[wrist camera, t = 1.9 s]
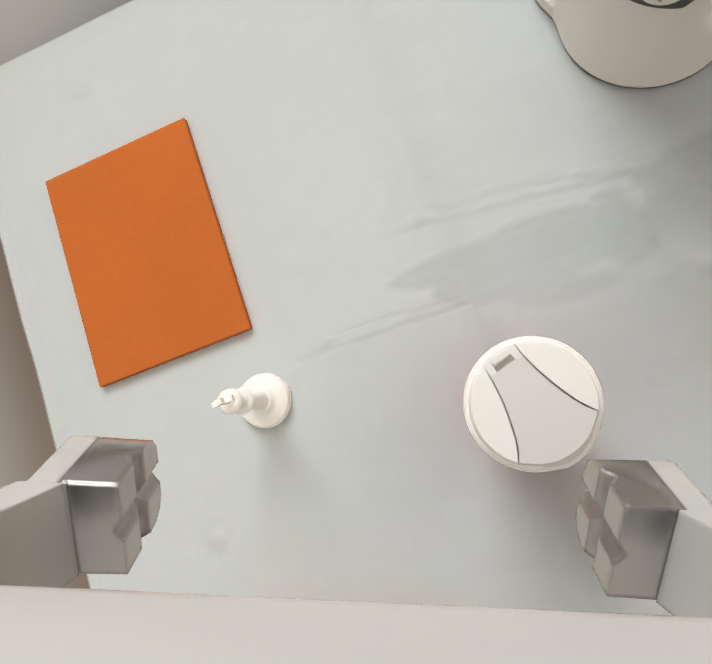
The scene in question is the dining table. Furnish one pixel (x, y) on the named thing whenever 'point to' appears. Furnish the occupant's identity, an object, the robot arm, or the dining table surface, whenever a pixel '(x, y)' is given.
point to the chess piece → (258, 400)
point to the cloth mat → (146, 254)
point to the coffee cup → (533, 404)
